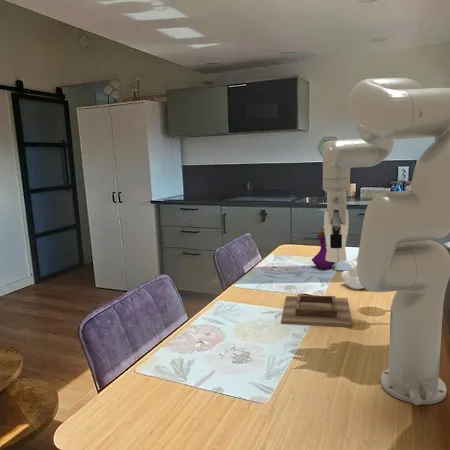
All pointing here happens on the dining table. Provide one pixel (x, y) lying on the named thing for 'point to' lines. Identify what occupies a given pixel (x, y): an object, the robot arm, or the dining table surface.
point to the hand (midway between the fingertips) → (335, 244)
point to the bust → (352, 276)
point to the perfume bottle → (322, 253)
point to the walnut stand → (316, 311)
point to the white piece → (331, 253)
